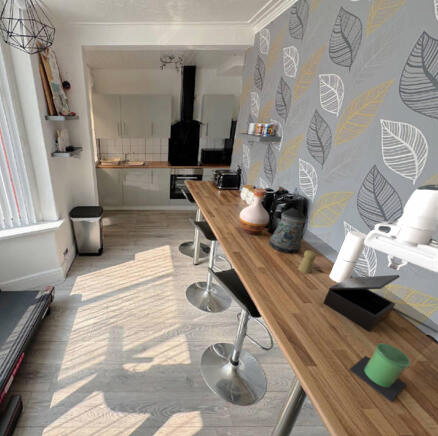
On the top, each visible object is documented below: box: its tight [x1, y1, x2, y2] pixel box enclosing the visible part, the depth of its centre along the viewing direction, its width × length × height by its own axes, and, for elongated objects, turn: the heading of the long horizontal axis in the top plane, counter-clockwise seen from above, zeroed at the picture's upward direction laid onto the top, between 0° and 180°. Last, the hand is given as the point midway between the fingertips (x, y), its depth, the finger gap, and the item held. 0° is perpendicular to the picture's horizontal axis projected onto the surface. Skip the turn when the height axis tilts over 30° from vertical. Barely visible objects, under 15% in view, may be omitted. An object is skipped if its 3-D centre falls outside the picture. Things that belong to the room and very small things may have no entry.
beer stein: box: [269, 206, 307, 255], centre depth 138 cm, size 16×19×25 cm
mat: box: [349, 355, 407, 403], centre depth 71 cm, size 10×10×1 cm
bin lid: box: [328, 274, 401, 290], centre depth 91 cm, size 16×16×1 cm
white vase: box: [239, 187, 270, 236], centre depth 154 cm, size 20×18×30 cm
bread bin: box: [323, 289, 396, 332], centre depth 94 cm, size 16×16×8 cm
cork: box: [297, 249, 318, 274], centre depth 118 cm, size 6×6×11 cm
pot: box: [364, 342, 411, 388], centre depth 69 cm, size 7×7×10 cm
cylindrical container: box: [329, 230, 368, 283], centre depth 109 cm, size 7×7×25 cm
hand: (393, 268), depth 82 cm, fingers closed
